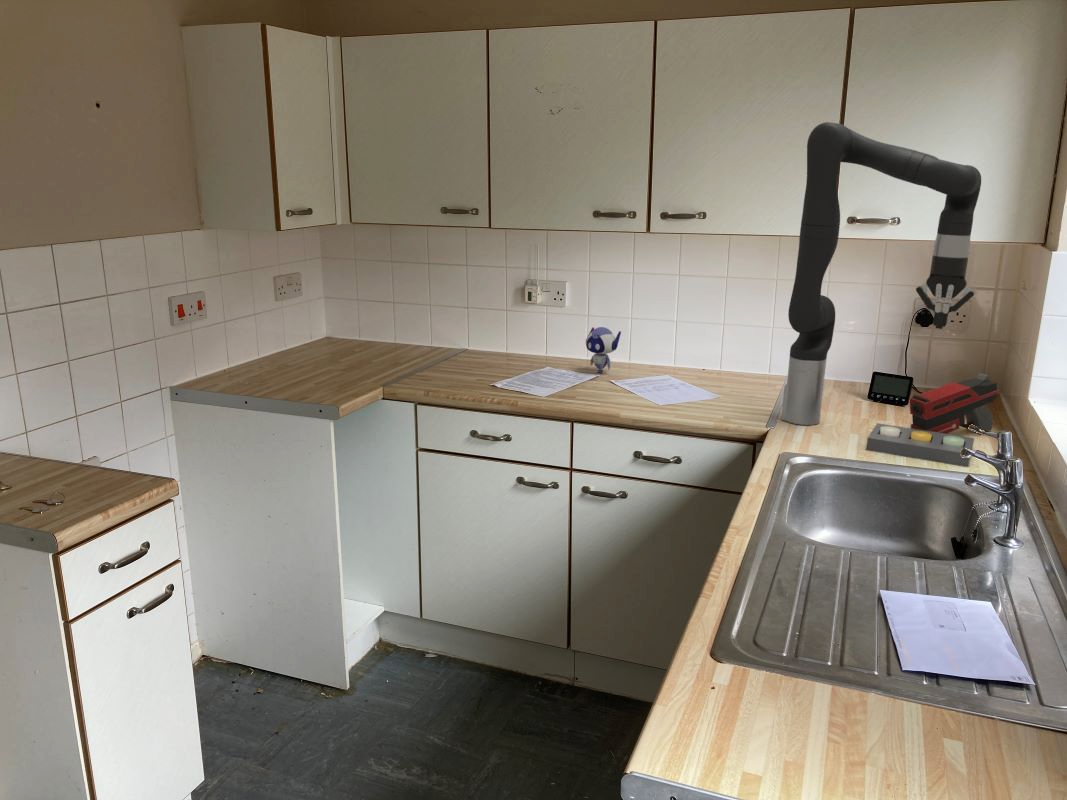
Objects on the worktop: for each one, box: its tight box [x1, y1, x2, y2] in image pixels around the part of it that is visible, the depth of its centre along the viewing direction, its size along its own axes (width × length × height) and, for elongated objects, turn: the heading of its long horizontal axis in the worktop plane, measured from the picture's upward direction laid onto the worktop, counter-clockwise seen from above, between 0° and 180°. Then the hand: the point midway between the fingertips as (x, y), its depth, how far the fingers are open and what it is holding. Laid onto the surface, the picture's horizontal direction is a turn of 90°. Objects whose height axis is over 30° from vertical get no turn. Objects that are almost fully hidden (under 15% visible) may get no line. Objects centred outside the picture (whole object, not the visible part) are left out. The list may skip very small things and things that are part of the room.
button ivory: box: [880, 426, 900, 437], centre depth 207 cm, size 4×4×4 cm
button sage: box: [943, 436, 964, 447], centre depth 200 cm, size 4×4×4 cm
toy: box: [585, 326, 622, 374], centre depth 271 cm, size 11×10×15 cm
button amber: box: [911, 431, 932, 442], centre depth 203 cm, size 4×4×4 cm
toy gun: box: [909, 372, 1000, 434], centre depth 215 cm, size 5×24×15 cm, turn 110°
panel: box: [865, 423, 975, 467], centre depth 203 cm, size 22×14×3 cm, turn 60°
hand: (939, 328), depth 201 cm, fingers closed
